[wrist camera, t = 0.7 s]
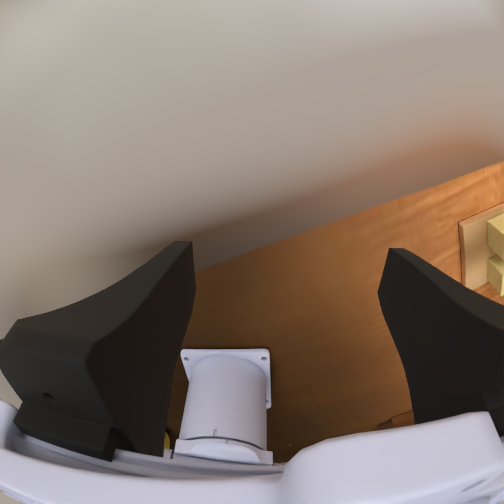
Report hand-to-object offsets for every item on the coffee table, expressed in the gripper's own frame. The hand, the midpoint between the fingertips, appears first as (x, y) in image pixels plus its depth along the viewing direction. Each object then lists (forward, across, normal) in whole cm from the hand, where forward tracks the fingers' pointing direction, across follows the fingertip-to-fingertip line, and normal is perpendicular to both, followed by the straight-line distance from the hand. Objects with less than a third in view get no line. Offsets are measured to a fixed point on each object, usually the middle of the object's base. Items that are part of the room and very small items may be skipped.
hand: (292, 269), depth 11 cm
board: (+10, -20, +3) cm, 23 cm away
